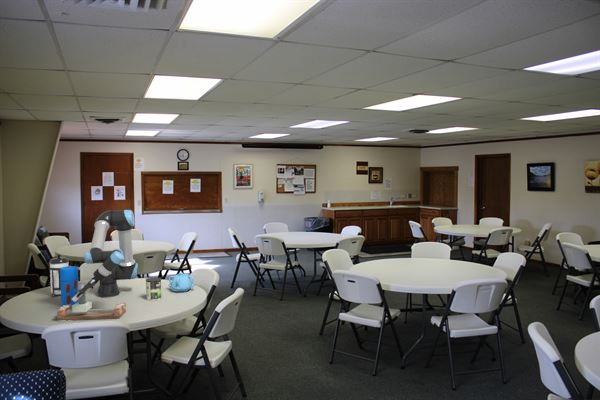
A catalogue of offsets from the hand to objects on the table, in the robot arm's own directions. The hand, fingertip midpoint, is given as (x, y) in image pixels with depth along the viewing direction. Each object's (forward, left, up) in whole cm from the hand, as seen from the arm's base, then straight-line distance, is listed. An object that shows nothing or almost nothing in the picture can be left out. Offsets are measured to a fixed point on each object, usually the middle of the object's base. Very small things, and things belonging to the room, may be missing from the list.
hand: (77, 297), depth 281 cm
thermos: (-30, -17, -12) cm, 36 cm away
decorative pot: (-58, +53, -12) cm, 80 cm away
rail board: (0, +8, -12) cm, 15 cm away
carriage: (0, +2, -8) cm, 8 cm away
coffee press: (-57, -34, -12) cm, 67 cm away
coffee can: (-37, +37, -12) cm, 54 cm away
